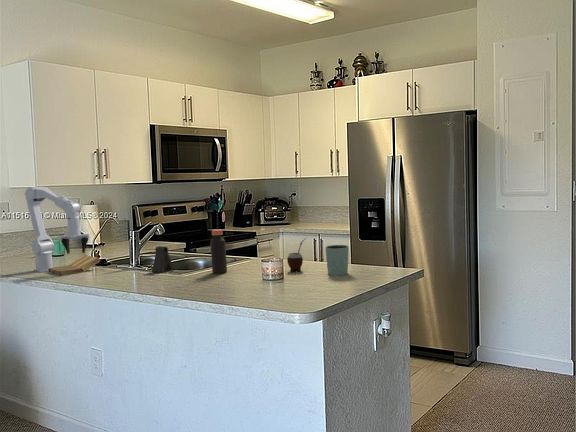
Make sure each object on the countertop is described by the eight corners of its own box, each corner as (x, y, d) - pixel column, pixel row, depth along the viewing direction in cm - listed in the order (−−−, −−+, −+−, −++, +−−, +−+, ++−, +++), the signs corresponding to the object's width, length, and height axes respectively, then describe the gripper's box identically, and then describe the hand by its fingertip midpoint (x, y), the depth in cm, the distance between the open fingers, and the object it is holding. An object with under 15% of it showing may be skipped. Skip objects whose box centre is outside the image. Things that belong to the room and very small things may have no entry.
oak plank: (69, 268, 300) (68, 265, 299) (85, 257, 306) (84, 254, 305) (84, 271, 287) (82, 268, 286) (100, 260, 293) (98, 257, 292)
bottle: (224, 273, 262) (221, 230, 260) (210, 274, 263) (207, 231, 261) (228, 271, 268) (226, 228, 266) (215, 271, 269) (212, 229, 268)
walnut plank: (48, 272, 293) (48, 268, 292) (67, 269, 299) (67, 265, 299) (61, 275, 279) (61, 271, 279) (81, 272, 286) (81, 268, 286)
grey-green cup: (336, 270, 254) (335, 244, 253) (354, 272, 247) (353, 245, 246) (321, 274, 247) (320, 247, 246) (339, 277, 240) (338, 248, 239)
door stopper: (159, 273, 273) (157, 248, 272) (151, 272, 277) (150, 247, 276) (174, 269, 279) (172, 245, 278) (166, 269, 283) (165, 245, 282)
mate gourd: (284, 271, 259) (282, 239, 257) (296, 268, 264) (294, 236, 263) (296, 273, 254) (295, 239, 252) (308, 270, 259) (306, 237, 258)
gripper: (56, 227, 282) (58, 255, 284) (86, 226, 283) (88, 253, 284) (61, 226, 289) (63, 252, 291) (90, 224, 290) (92, 251, 291)
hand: (76, 252), depth 288 cm, fingers open, 7 cm apart
